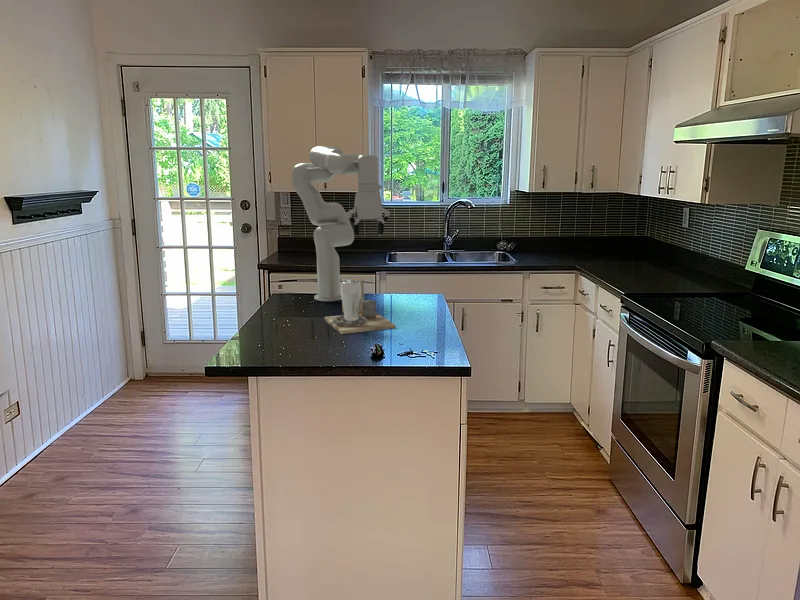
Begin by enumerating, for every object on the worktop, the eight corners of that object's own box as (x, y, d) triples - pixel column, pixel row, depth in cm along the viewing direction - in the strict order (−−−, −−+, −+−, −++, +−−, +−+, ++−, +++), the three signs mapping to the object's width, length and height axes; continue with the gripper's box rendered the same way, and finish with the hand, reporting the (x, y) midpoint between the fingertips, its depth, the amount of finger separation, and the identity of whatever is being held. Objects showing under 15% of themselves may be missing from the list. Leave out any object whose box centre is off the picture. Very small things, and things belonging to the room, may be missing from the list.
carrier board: (324, 320, 218) (324, 301, 217) (374, 314, 226) (374, 296, 225) (341, 334, 201) (340, 313, 199) (395, 327, 208) (395, 308, 207)
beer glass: (337, 323, 210) (336, 281, 206) (348, 318, 216) (348, 278, 212) (354, 325, 206) (353, 283, 203) (364, 321, 212) (364, 280, 209)
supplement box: (364, 310, 233) (364, 278, 230) (362, 313, 228) (362, 280, 225) (344, 310, 234) (343, 277, 231) (341, 313, 229) (341, 279, 226)
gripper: (385, 188, 228) (386, 232, 231) (343, 188, 221) (344, 234, 225) (393, 188, 221) (393, 234, 225) (349, 189, 214) (350, 236, 218)
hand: (368, 234), depth 225 cm, fingers open, 9 cm apart
